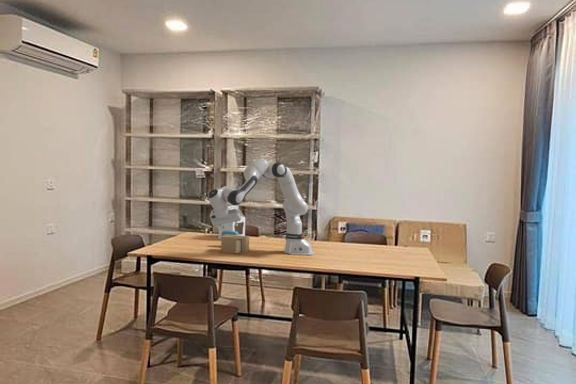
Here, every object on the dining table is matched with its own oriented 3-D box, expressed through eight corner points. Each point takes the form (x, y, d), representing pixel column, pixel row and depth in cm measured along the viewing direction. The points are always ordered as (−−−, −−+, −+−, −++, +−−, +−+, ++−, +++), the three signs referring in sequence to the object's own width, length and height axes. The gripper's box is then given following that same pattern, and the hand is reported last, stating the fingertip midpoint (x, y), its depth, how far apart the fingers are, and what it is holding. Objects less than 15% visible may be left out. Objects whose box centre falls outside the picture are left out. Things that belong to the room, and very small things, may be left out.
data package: (238, 246, 330) (238, 231, 329) (235, 248, 326) (236, 232, 325) (223, 245, 333) (224, 230, 333) (221, 246, 329) (221, 230, 328)
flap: (243, 249, 313) (243, 238, 312) (238, 252, 301) (238, 241, 301) (240, 249, 313) (241, 238, 313) (235, 252, 302) (235, 241, 301)
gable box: (232, 241, 353) (233, 207, 351) (218, 239, 358) (219, 206, 356) (244, 237, 374) (245, 205, 372) (231, 235, 379) (232, 204, 377)
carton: (248, 250, 316) (249, 235, 316) (244, 253, 307) (245, 237, 306) (225, 249, 320) (225, 234, 319) (220, 251, 310) (221, 236, 309)
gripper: (237, 205, 283) (245, 221, 291) (209, 211, 288) (217, 226, 295) (236, 211, 278) (243, 227, 286) (207, 217, 283) (215, 232, 290)
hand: (230, 226), depth 291 cm, fingers open, 8 cm apart
